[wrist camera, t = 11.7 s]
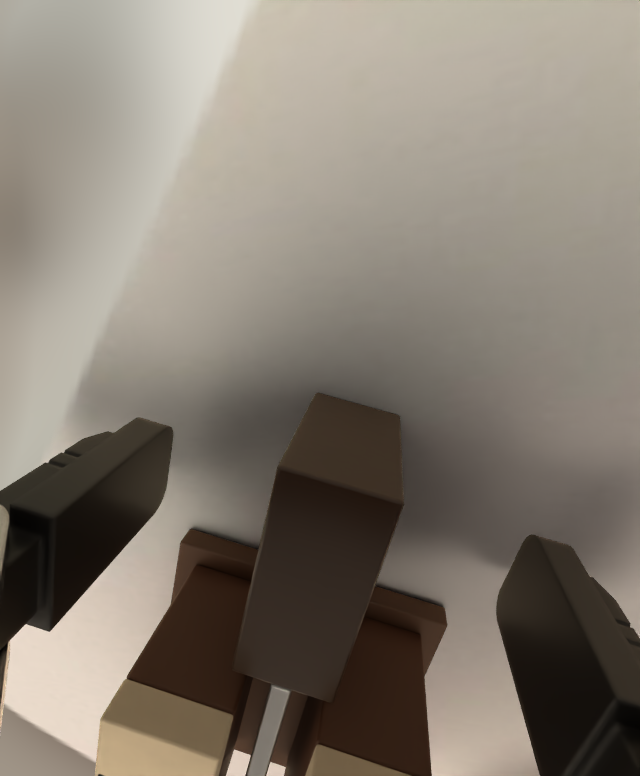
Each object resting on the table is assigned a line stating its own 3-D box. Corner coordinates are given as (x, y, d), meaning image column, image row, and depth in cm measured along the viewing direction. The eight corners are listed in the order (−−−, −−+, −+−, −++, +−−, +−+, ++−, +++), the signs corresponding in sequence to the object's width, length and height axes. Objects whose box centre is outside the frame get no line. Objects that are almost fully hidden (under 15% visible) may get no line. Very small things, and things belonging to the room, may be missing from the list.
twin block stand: (189, 528, 12) (73, 690, 8) (445, 606, 11) (477, 829, 7) (161, 702, 14) (60, 903, 10) (371, 774, 14) (362, 1018, 9)
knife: (315, 391, 10) (277, 465, 7) (401, 414, 10) (405, 503, 7) (231, 732, 14) (181, 885, 11) (291, 752, 14) (258, 914, 11)
